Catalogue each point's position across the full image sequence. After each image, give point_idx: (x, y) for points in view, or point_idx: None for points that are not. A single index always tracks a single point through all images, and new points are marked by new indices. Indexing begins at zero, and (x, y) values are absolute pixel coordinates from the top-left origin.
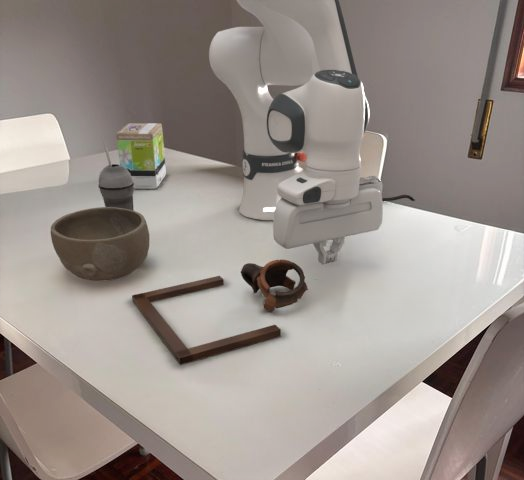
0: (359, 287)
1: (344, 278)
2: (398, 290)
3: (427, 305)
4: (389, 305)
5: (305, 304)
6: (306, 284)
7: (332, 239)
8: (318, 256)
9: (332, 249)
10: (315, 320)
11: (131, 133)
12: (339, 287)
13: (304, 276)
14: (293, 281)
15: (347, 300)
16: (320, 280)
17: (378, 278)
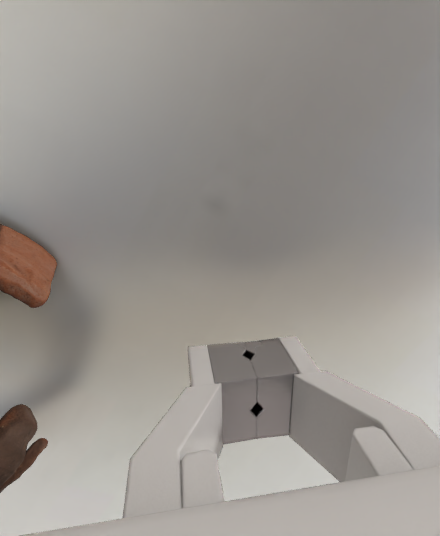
0: (325, 343)
1: (332, 252)
2: (412, 403)
3: None
4: (316, 467)
5: (60, 388)
6: (26, 468)
7: (352, 460)
8: (190, 366)
9: (302, 412)
10: (49, 484)
11: None
12: (261, 316)
13: (19, 460)
14: (29, 304)
15: None
16: (229, 224)
17: (435, 307)
